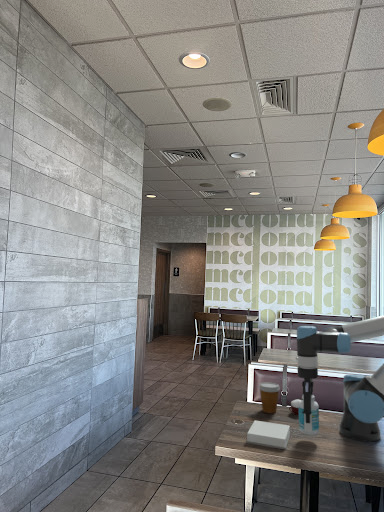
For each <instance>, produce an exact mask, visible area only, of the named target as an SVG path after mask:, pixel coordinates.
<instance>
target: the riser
mask: <svg viewBox="0 0 384 512" xmlns="http://www.w3.org/2000/svg"><path fill="white" fill-rule="evenodd" d="M290 428H291V426H290V425H288V424H283V423H275V422H268V421H262V420H261V421H260V420H253V423H252V425H251V426H250V428H249V430H248V431H247V433H246V436H247V437H246V439H247V440H246V444H250V443H251V444H250V445H256V446H257V445H258V446H263V447H268V448H275V449H281V450H287V446H288V444H289V443H288V442H289V441H290V437H291V429H290Z"/></svg>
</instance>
